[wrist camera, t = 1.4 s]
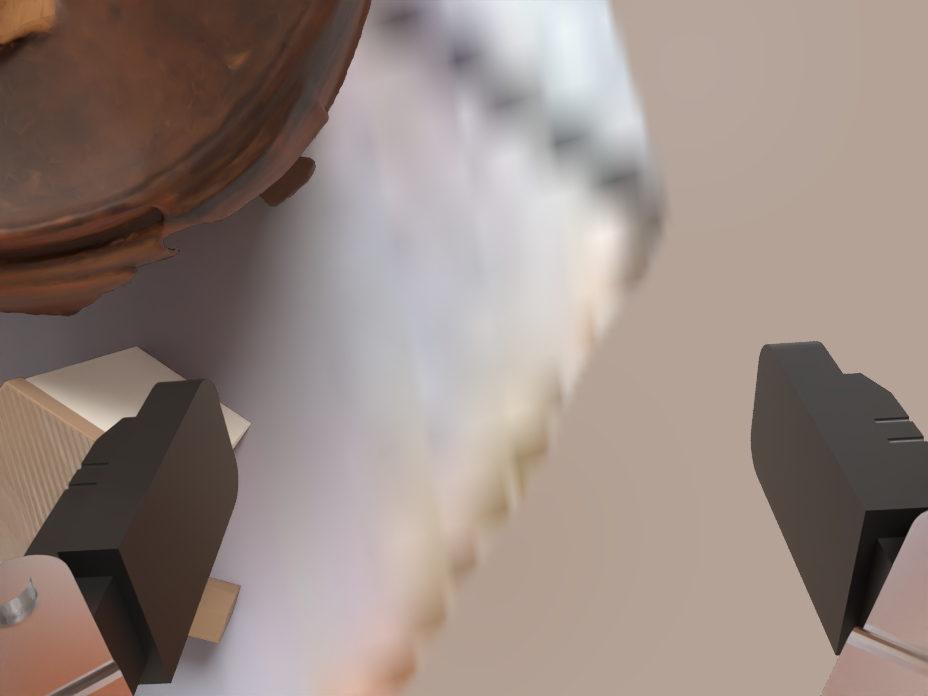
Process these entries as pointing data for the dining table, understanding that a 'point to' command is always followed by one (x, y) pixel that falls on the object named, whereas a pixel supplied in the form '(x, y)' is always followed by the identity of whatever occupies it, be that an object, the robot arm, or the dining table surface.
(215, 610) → the rail
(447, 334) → the dining table surface
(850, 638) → the robot arm
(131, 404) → the sugar carton
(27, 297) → the brown round rimmed container
